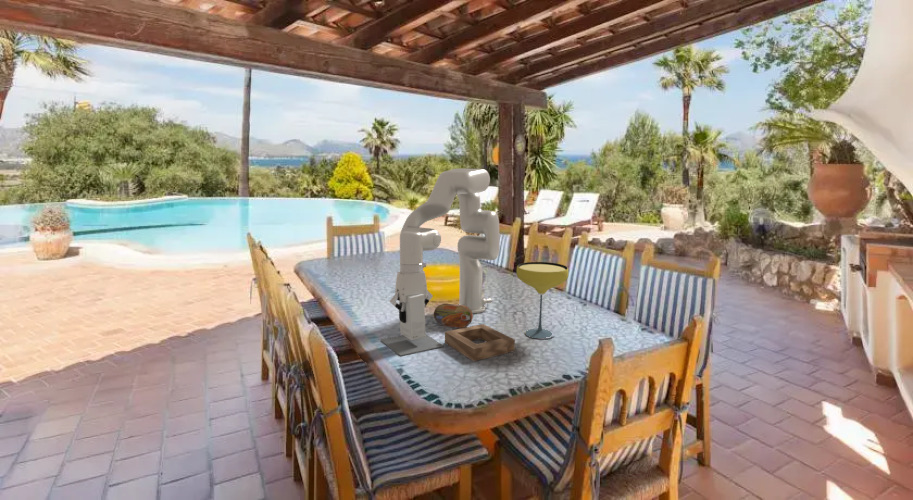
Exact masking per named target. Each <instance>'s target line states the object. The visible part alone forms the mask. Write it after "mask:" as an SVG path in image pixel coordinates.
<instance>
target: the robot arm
mask: <svg viewBox="0 0 913 500" xmlns="http://www.w3.org/2000/svg"><path fill="white" fill-rule="evenodd" d="M490 182H491V177H490V173H489V172H488V170H487V169H484V168H452V169H450V170H445V171H443V172H441V173H440V174H439V175H438V177H437V179H436V181H435V183H434V185H433V188H432V190H431V193H430V195H429V196H428V197H429V198H427V200H426V202H424V203H422V204H421V205H419V206H418V207H417V208H416V209H414V210H413V211H412V212H411V213H410V214H409V215H408V216H407V218H406V220H405V221H404V223H403V225H402V228H401V231H400V234H399V271H398V272H397V275H396V280H395V289H394V291H395V292H394V295H393V296H392V297H391V299H390V300H389V303H390V304H392V305H393V306H394V307H395V308H396V309H397V310H398V317H399V322H400V321H401V322H403V323H406V312H405V311H404V310H405V307H406V303H407V297H408V296H412V295H418V294H423V295H424V306H425V308H426V307H427V305H428V304H429V302H430V301H431V300H432V298H433V294H432V293H431V292H430V291H429V290H428V286H427V284H428V283H427V277H426V273H425V271H424V268H426V267H427V263H426V262H425V263H424V260H423V259H424V257H423V255H424V254H423V253H424V251H425V252H426V251H434V250H436V249H438V248H439V246H440V245H441V243H442V242H441V241H442V235H441V233H440V232H439V231H438V230H437V229H434V228H428V227H427V228H426V227H421V226H422V225H424V224H425V223H427V222H428V221H431V220H435V219H437V218H440V217H442V216H445V215H447V214H448V213H449V212H450V209H451V208H452V205H453V202H454V200H455V198H456V196H457V198H458V203H459V221H460V229H461V230H462V232H465V233H469V234H470V233H471V234H481V235H471V234H470V235H469V234H468V235H463V236H461V237H460V238H459V239H458V240H457V241H458V242H457V253H458V261H459V300H458V301H459V304H457V305H464V306H467V307H468V308H469V309H470V310H471V311H472V314H480V313H483V312H485V311H486V306H485V305H486V304H490V303H492V299H491V298H485V297H483V266H482V264H481V262H480V260H481V261H482V260H484V261H495V260H496V259H497V258H498V257H499V255H500V250H501V249H500V247H501V245H500V240H501V239H500V219H499V216H498V213H496V212H495V211H493V210H489V209H488V210H486V209H482V207H481V197H480V195H479V193H482V192H485V191H486V190H487V189H488V188H489V187H490ZM483 235H484V236H483ZM397 301H398V302H399V301H400V302H399V303H398V302H397Z"/></svg>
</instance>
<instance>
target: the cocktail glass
mask: <svg viewBox="0 0 913 500" xmlns="http://www.w3.org/2000/svg"><path fill="white" fill-rule="evenodd" d="M516 277H517V278H518V279H519V280H520V281H521V282H522V283H524V284H526V285H527V286H529V287H531V288H533V289H534V290H535V291H536V293H538V295H540V297H539V299H540V302H539V319H538V327H537V328H530V330H529V329H527V330H528V331H527V330H526V335H527V336H526V335H525V336H526V337H528V336H530V337H533V338H546V337H550V336H551V335H552V333H551V332H550V331H551V330H550V331H548V330H549V329H546V330H545V328H543V326H542V311H543V309H542V308H543V307H542V306H543V295H545V294H546V292H548V291H549V290H551V289H552V288H555V287H557V286H560V285H562V284H564V283H565V282H566V281H567V279H568V277H569V267H568V266H566V265H564V264H561V263H556V262H547V261H530V262H529V261H528V262H523V263H519V264H518V265H517V266H516ZM530 337H529V338H530ZM533 338H532V339H533Z"/></svg>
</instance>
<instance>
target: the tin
mask: <svg viewBox="0 0 913 500" xmlns="http://www.w3.org/2000/svg"><path fill="white" fill-rule="evenodd" d="M473 314H474V313H472V311H471V310H470V309H469V308H468V307H467V306H464V305H458V304H453V303H442V304H438V306H436V307H435V309H434V311H433V317H434V320H435V322H436V323H437V324H439V325H440V326H443V327H451V328H458V329H461V328H466V327H469V325H470V324H471V323H472V321H473V320H474V319H473V318H474V317H473V316H474V315H473Z"/></svg>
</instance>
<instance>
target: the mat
mask: <svg viewBox="0 0 913 500" xmlns="http://www.w3.org/2000/svg"><path fill="white" fill-rule="evenodd" d="M380 342H382V343H383V344H384V345H385V346H387V347H388V348H389V349H391V350H392V351H393V352H395V354H397V355H398V356H400V357H403V356H408V355H413V354H417V353H422V352H423V353H424V352H426V351H432V350H436V349H441V348H444V347H445V345H444V344H443V343H441V342H439V341H438V340H436V339H434V338H433V337H432V336H430V335H428V334H426V336H425V338H420V339H414V340H410V339H408V338H407V337H405V336H403V335H402V334H401V335H398V336H392V337H388V338H383V339H380Z"/></svg>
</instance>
